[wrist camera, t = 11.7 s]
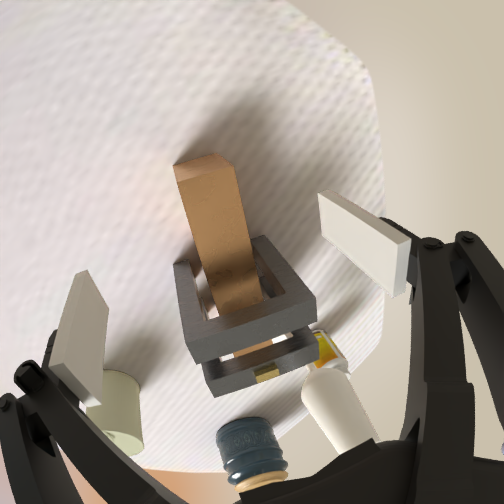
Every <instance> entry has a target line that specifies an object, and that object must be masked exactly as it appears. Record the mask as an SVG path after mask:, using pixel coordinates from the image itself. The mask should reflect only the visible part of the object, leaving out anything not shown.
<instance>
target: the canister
mask: <svg viewBox="0 0 504 504" xmlns="http://www.w3.org/2000/svg"><path fill="white" fill-rule="evenodd" d="M216 443H217V447H218V448H219V451H220V454H221V458H222V461H223V464H224V466H223V467H224V469H225V470H226V471H227V472H228V475H229V477H228V482H229V483H230V484H233V485H235V490H236V491H237V492H244V491H247V490H251V489H254V488H257V487H260V486H263V485H266V484H269V483H272V482H279V481H284V480H285V479H286V478H287V477H288V473H287V472H286V471H285V470H286V468H287V466H288V463H287V462H286V461H285V460H283V457H282V454H283V451H282V450H281V449H280V447H279V444H278V442H277V440H276V437H275V435H274V433H273V429H272V426H271V425H270V424H269V422H268V421H267V420H265V419H263V418H256V417H252V418H244V419H240V420H236V421H234V422H231V423H229V424H227V425H225V426H224V427H222V428H221V429H220V430H219V431H218V432H217V434H216Z"/></svg>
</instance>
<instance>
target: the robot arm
mask: <svg viewBox="0 0 504 504" xmlns="http://www.w3.org/2000/svg"><path fill="white" fill-rule="evenodd" d="M318 201H319V210H320V220H321V230H322V236H323V237H324V238H325V239H326V240H328V241H329V242H330V243H331V244H332V245H333V246H335V247H336V248H337V249H338V250H339V251H340V252H342V253H343V254H344V255H345V256H346V257H347V258H348V259H350V260H351V261H352V262H353V263H354V264H355V265H356V266H357V267H359V268H360V269H361V270H362V271H363V272H364V273H365V274H366V275H368V276H369V277H370V278H371V279H372V280H373V281H374V282H375V283H376V284H378V285H379V286H380V287H381V288H382V289H383V290H384V291H385V292H386V293H387V294H388V295H390V296H391V297H392V298H394V297H396V296H398V295H400V294H402V293H404V292H405V289H406V281H408V282H409V283H410V284H411V285H412V290H411V295H410V301H409V304H411V309H412V310H411V315H412V317H411V355H410V372H409V384H408V396H407V404H406V412H405V419H404V424H403V428H402V431H401V435H400V438H399V440H393V441H384V442H378V443H375V441H374V440H373V438H370V439H368V440H367V441H365V442H363V443H361V444H359V445H357V446H355V447H354V448H352V449H350V450H348V451H346V452H344V453H342V454H340V455H339V456H338V457H337V458H336V459H334V460H333V461H332V462H330V463H329V464H328V465H327V466H325V467H324V468H323V469H321V470H320V471H319V472H317V473H316V474H314V475H313V476H311V477H306V478H300V479H294V480H287V481H279V482H272V483H269V484H266V485H263V486H260V487H257V488H254V489H251V490H247V491H244V492H240V493H239V495H240V498H241V500H239V501H237V502H235V503H234V504H504V461H498V460H492V459H486V458H480V457H475V456H474V438H475V394H474V386H473V384H472V383H468V382H467V379H466V367H465V354H464V344H463V335H462V329H461V328H462V327H461V320H460V313H461V315H462V317H463V320H464V322H465V324H466V327H467V329H468V331H469V333H470V336H471V339H472V341H473V344H474V346H475V349H476V351H477V354H478V356H479V359H480V362H481V365H482V367H483V370H484V373H485V376H486V379H487V382H488V385H489V388H490V391H491V395H492V398H493V401H494V405H495V408H496V411H497V414H498V418H499V421H500V423H501V425H502V427H503V430H504V269H503V268H502V267H501V265H500V264H499V262H498V261H497V260H496V259H495V257H494V256H493V254H492V253H491V252H490V250H489V249H488V248H487V246H486V245H485V244H484V243H483V241H482V240H481V239H480V238H479V237H478V236H477V235H476V234H474V233H472V232H469V231H461V232H458V233H457V234H456V236H455V242H453V243H448V244H444V243H443V242H442V241H441V240H439V239H436V238H431V237H426V238H422V239H421V238H419V237H418V236H416V235H414V234H413V233H411V232H410V231H408V230H406V229H404V228H403V227H402V226H400V225H398V224H397V223H395V222H393V221H392V220H390V219H386V218H383V217H380V218H377V217H376V216H374V215H373V214H371V213H369V212H368V211H366V210H364V209H363V208H361V207H359V206H357V205H356V204H354V203H352V202H351V201H349V200H347V199H345V198H344V197H342V196H340V195H338V194H337V193H335V192H333V191H331V190H325V191H322V192H319V193H318ZM459 311H460V313H459ZM108 314H109V308H108V306H107V304H106V303H105V301H104V299H103V298H102V296H101V294H100V292H99V290H98V289H97V287H96V285H95V283H94V281H93V280H92V278H91V276H90V274H89V272H88V270H85V271H82V272H80V273H77V274H76V275H75V277H74V280H73V283H72V286H71V289H70V292H69V295H68V298H67V301H66V304H65V307H64V310H63V313H62V317H61V320H60V323H59V327H58V329H56V330H54V331H53V333H52V334H51V336H50V338H49V340H48V344H47V348H46V351H45V355H44V359H43V363H42V367H41V368H40V367H39V366H38V364H37V363H36V362H35V361H33V360H27V361H25V362H23V363H22V364H21V365H20V366H19V367H18V368H17V370H16V372H15V374H14V383H15V384H16V385H17V386H18V387H19V388H20V389H21V390H22V391H23V392H24V393H25V395H23V396H22V397H20V398H18V399H17V398H16V397H15V396H14V395H13V394H11V393H6V394H4V395H3V396H2V397H0V443H1V449H2V454H3V458H4V463H5V467H6V471H7V475H8V479H9V482H10V486H11V489H12V493H13V495H14V499H15V502H16V504H84V503H83V501H82V499H81V497H80V495H79V493H78V491H77V489H76V487H75V485H74V483H73V481H72V479H71V477H70V474H69V472H68V470H67V468H66V465H65V463H64V461H63V458H62V456H61V453H60V451H59V448H58V446H57V443H58V445H59V446H60V447H61V449H62V450H63V451H64V453H65V454H66V455H67V457H68V458H69V459H70V461H71V462H72V463H73V464H74V466H75V467H76V468H77V469H78V471H79V472H80V473H81V474H82V475H83V477H84V478H85V479H86V480H87V481H88V482H89V484H90V485H91V486H92V487H93V488H94V489H95V490H96V491H97V493H98V494H99V495H100V496H101V497H102V498H103V499H104V500H105V501H106V502H107V503H108V504H189V503H187V502H186V501H184V500H183V499H181V498H180V497H178V496H177V495H176V494H174V493H173V492H171V491H170V490H169V489H167V488H166V487H165V486H163V485H162V484H161V483H160V482H158V481H157V480H155V479H154V478H153V477H152V476H151V475H149V474H148V473H147V472H146V471H145V470H143V469H142V468H141V467H140V466H139V465H137V464H136V463H135V462H134V461H133V460H132V459H131V458H129V457H128V456H127V455H126V454H125V453H124V452H123V451H122V450H121V449H120V448H118V447H117V446H116V445H115V444H114V443H113V442H112V441H111V440H110V439H109V438H108V437H107V436H106V435H105V434H104V433H103V432H102V431H101V430H100V429H99V428H98V427H97V426H96V425H95V424H94V423H93V422H92V421H91V419H90V418H89V417H88V416H87V415H86V414H85V413H84V412H83V411H82V410H81V409H80V408H79V400H80V401H81V402H82V403H83V404H84V405H85V406H86V407H92V406H97V405H102V381H103V364H104V351H105V340H106V331H107V322H108ZM56 442H57V443H56ZM501 449H502V453H503V455H504V443H503V444H502V448H501Z"/></svg>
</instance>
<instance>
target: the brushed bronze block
mask: <svg viewBox="0 0 504 504" xmlns="http://www.w3.org/2000/svg"><path fill="white" fill-rule="evenodd" d="M173 169H174V173H175V177H176V181H177V185H178V188H179V192H180V195H181V198H182V202H183V205H184V209H185V212H186V215H187V218H188V222H189V225H190V228H191V231H192V235H193V238H194V241H195V244H196V247H197V250H198V254H199V257H200V260H201V263H202V266H203V269H204V272H205V275H206V278H207V281H208V284H209V287H210V290H211V293H212V296H213V299H214V302H215V304H216V307H217V310H218V313H219V316H222V315H225V314H228V313H231V312H234V311H237V310H240V309H243V308H245V307H248V306H251V305H254V304H257V303H260V302H263V297H262V292H261V288H260V283H259V279H258V274H257V270H256V265H255V261H254V256H253V251H252V247H251V242H250V238H249V233H248V229H247V224H246V220H245V215H244V211H243V206H242V202H241V197H240V193H239V188H238V183H237V179H236V174H235V170H234V166H233V165H232V164H230V163H229V162H228V161H227V160H225V159H224V158H223V157H221V156H220V155H219V154H217V153H215V154H211V155H208V156H204V157H201V158H197V159H194V160H190V161H187V162H183V163H180V164H177V165H174V166H173ZM272 344H273V342H272V339H271V340H268V341H265V342H262V343H260V344H257V345H254V346H251V347H248V348H245V349H243V350H240V351H237V352H234V353H233V355H234V357H238V356H241V355H244V354H247V353H250V352H253V351H255V350H258V349H261V348H264V347H267V346H269V345H272Z"/></svg>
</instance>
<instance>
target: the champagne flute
mask: <svg viewBox="0 0 504 504" xmlns="http://www.w3.org/2000/svg"><path fill="white" fill-rule="evenodd" d="M285 339H287V338H286V336H285V334H284V335H281V336H279V337H276V338H273V339H272V342H274V343H277V342H280V341H283V340H285ZM306 367H307V369H308V371H309V372H310V373H309V374H308V376H307V378H306V380H305V381H304V383H303V386H302V391H301V399H302V402H303V403H304V404H305V406H306V407H307V409H308V410H309V412H310V413H311V415H312V416H313V417H314V419H315V420H316V422H317V423H318V425H319V426H320V428H321V429H322V430H323V432H324V433H325V435H326V436H327V438H328V439H329V440H330V442H331V443H332V445H333V446H334V447H335V449H336V450H337V451H338V453H339V454H342V453H344V452H346V451H348V450H350V449H352V448H354V447H355V446H357V445H359V444H361V443H363V442H365V441H367V440H368V439H370V438H373V440H374V441H375V443H378V442H381V440H380V439H379V437H378V435H377V433H376V431H375V429H374V427H373V425H372V423H371V421H370V419H369V417H368V415H367V414H366V412H365V410H364V408H363V406H362V404H361V402H360V400H359V398H358V397H357V395H356V393H355V391H354V389H353V387H352V385H351V384H350V382H349V380H348V378H347V376H346V375H345V374H344V373H343V372H342V371H339V370H337V369H333V368H316V366H315V364H314V363H313V362H312V363H310V364H307V365H306Z"/></svg>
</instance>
